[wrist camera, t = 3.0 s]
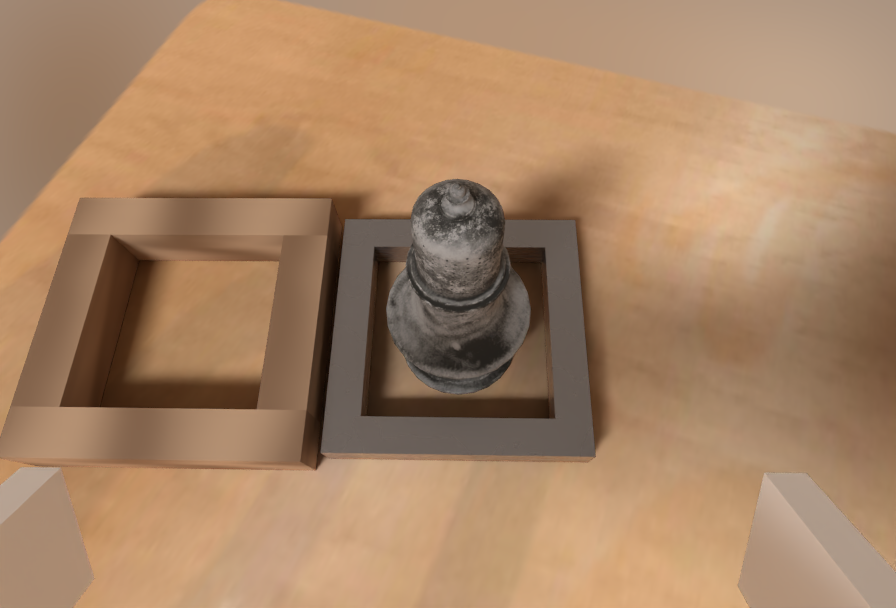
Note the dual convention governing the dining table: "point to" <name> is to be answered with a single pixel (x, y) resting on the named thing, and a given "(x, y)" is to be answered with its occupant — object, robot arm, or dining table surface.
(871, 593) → the robot arm
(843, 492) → the dining table surface
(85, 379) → the walnut holder block
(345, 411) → the metal collar
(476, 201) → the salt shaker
